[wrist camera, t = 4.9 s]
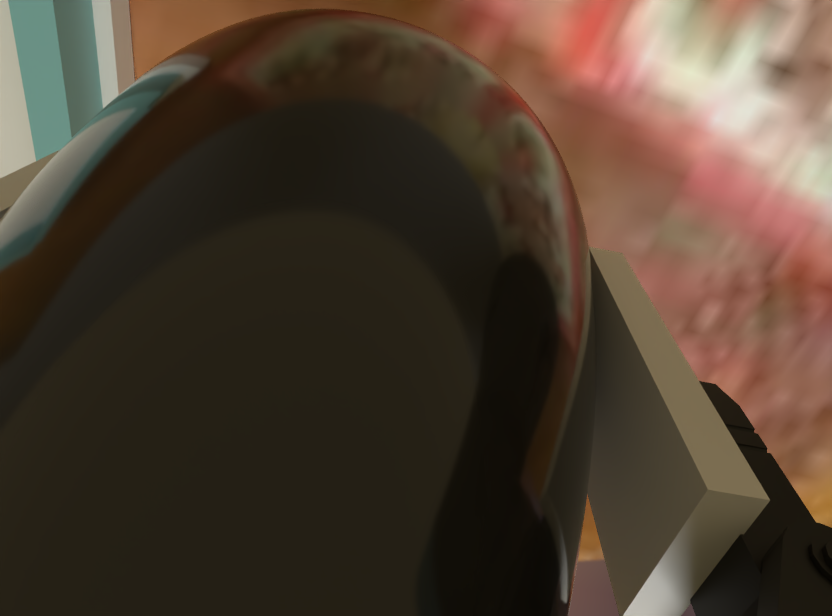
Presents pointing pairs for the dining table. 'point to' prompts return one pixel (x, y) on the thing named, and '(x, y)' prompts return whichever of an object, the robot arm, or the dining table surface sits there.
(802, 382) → the dining table surface
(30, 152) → the dock
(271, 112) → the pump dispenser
